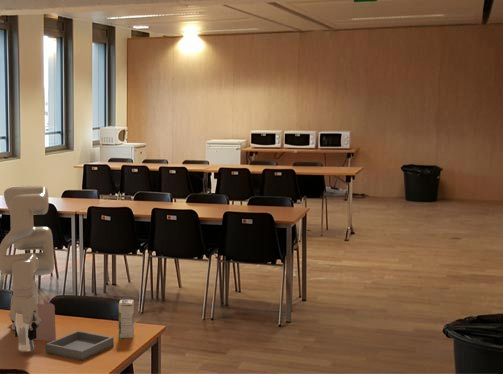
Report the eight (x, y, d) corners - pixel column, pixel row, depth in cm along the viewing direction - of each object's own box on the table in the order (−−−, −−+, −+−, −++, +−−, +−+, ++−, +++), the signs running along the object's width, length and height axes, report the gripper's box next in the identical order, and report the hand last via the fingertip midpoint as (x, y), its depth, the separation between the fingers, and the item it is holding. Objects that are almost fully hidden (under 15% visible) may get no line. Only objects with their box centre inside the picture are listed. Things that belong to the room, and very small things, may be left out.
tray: (46, 352, 274) (45, 344, 273) (78, 338, 289) (78, 330, 289) (82, 360, 265) (82, 351, 265) (113, 345, 281) (113, 337, 280)
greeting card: (58, 341, 287) (56, 304, 285) (39, 345, 282) (38, 308, 280) (47, 334, 296) (45, 298, 294) (29, 337, 291) (27, 301, 289)
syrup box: (120, 333, 295) (119, 299, 294) (134, 333, 296) (133, 299, 294) (118, 338, 290) (117, 303, 288) (133, 338, 290) (132, 303, 288)
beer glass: (30, 353, 268) (28, 314, 266) (13, 351, 270) (11, 313, 267) (39, 346, 275) (37, 308, 273) (22, 345, 276) (20, 307, 274)
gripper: (-1, 291, 270) (1, 336, 272) (33, 297, 262) (35, 344, 264) (14, 286, 276) (16, 330, 279) (48, 292, 268) (50, 338, 271)
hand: (25, 337), depth 272 cm, fingers closed on beer glass, 6 cm apart
